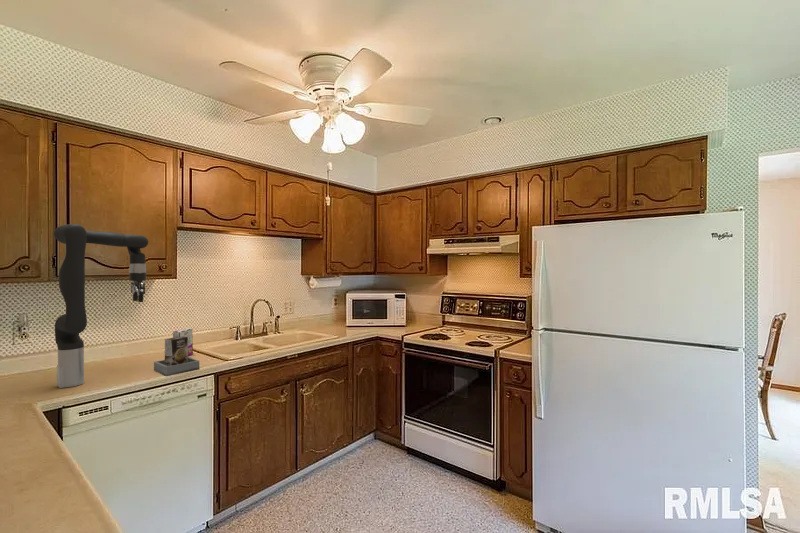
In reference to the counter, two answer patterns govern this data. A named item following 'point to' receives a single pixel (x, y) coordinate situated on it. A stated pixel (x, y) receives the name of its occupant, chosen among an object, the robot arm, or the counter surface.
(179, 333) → the candy bar box
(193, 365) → the box
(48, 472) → the counter surface
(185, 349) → the coffee box
